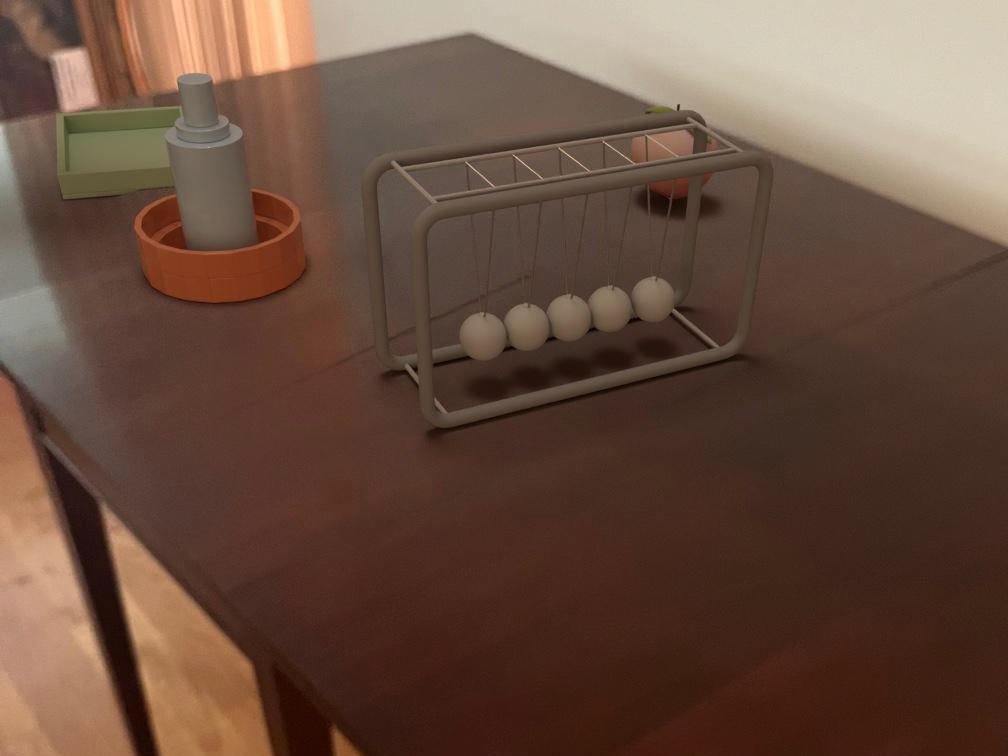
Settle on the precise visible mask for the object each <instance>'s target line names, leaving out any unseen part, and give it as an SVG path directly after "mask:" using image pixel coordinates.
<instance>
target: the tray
mask: <svg viewBox="0 0 1008 756" xmlns="http://www.w3.org/2000/svg"><path fill="white" fill-rule="evenodd" d="M182 116H183V112H182V106H181V105H171V106H170V105H169V106H157V107H156V106H155V107H154V106H153V107H140V108H139V107H138V108H124V109H123V108H122V109H105V110H104V109H103V110H90V111H77V112H76V111H73V112H57V113H55V135H56V136H55V138H56V141H55V142H56V173H57V174H56V176H57V180H58V181H57V182H58V184H59V188H60V192H61V195H62V199H63V200H74V199H86V198H87V199H89V198H99V197H101V198H102V197H112V196H124V195H127V194H130V193H134V192H137V191H139V190H146V189H160V188H161V189H162V188H171V187H173V188H174V183H173V178H172V173H171V168H170V162H169V157H168V152H167V147H166V142H165V133H166V132H167V131H168V130H169V129H170V128H172V127H174V126H175V121H176V120H177V119H178V118H180V117H182Z"/></svg>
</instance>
